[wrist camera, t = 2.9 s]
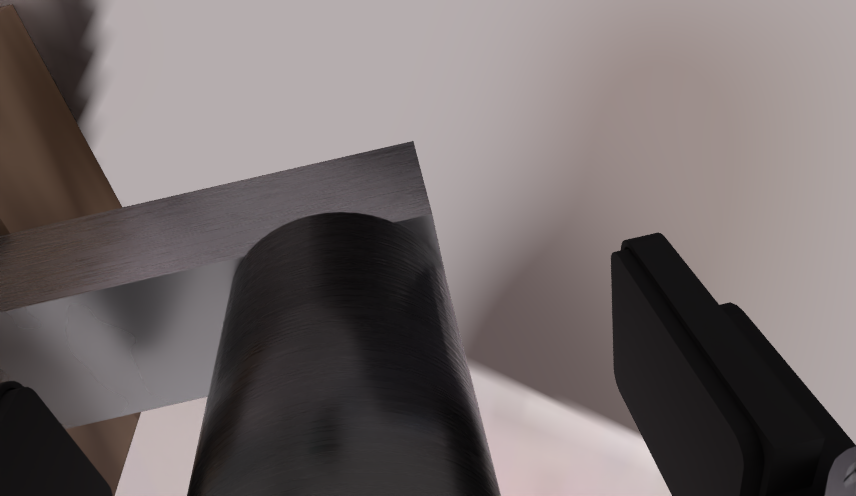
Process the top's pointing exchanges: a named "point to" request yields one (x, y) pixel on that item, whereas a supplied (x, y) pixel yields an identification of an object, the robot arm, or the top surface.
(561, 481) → the top surface
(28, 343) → the grey piece
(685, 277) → the robot arm
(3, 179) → the brown wooden block
